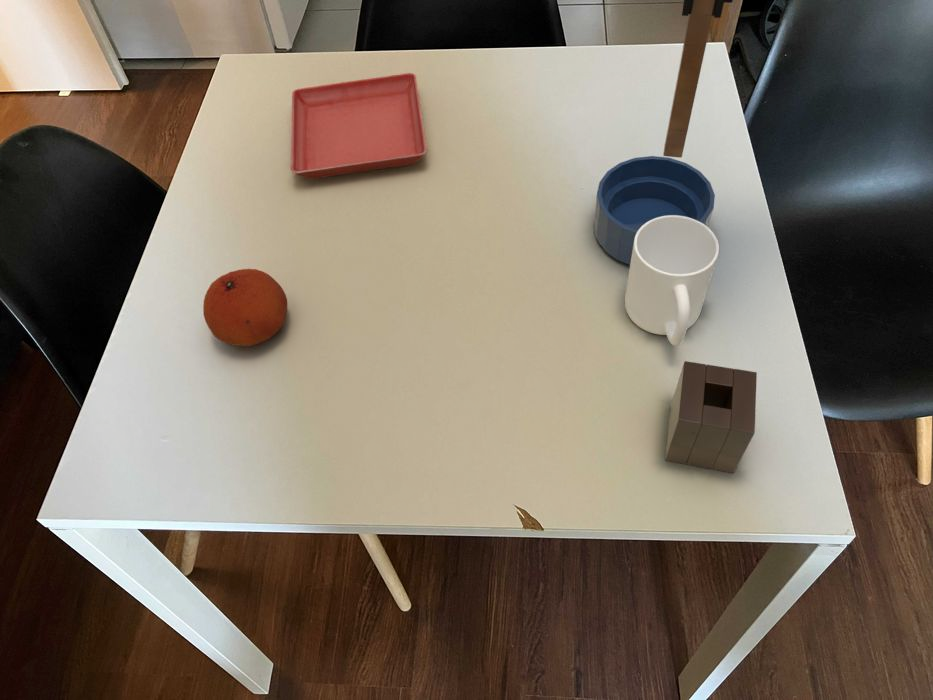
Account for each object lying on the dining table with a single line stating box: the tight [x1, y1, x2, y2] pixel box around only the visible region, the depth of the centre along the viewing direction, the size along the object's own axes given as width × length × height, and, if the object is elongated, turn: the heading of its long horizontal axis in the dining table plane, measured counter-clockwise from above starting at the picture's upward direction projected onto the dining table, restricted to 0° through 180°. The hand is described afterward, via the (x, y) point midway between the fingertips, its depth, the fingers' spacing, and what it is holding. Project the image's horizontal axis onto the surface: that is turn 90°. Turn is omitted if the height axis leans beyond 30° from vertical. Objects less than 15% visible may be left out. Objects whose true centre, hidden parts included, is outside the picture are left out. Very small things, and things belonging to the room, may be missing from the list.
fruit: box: [202, 268, 288, 347], centre depth 80 cm, size 9×9×8 cm
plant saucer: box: [290, 72, 428, 179], centre depth 100 cm, size 18×18×3 cm
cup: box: [624, 215, 720, 347], centre depth 75 cm, size 8×12×10 cm
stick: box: [663, 0, 715, 159], centre depth 64 cm, size 2×2×20 cm
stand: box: [664, 360, 758, 474], centre depth 67 cm, size 6×6×8 cm
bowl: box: [593, 155, 716, 266], centre depth 84 cm, size 13×13×6 cm
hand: (702, 6), depth 60 cm, fingers closed on stick, 1 cm apart
